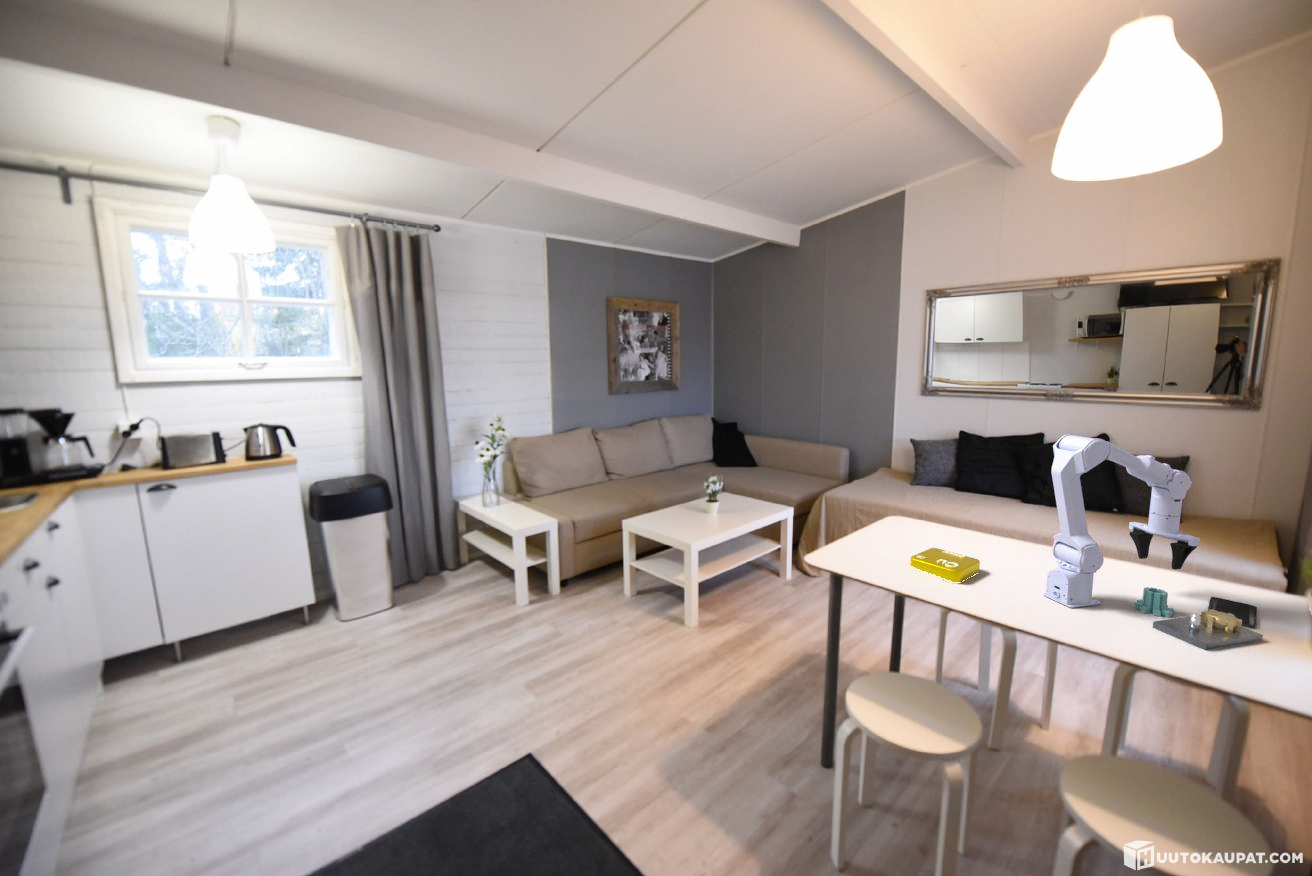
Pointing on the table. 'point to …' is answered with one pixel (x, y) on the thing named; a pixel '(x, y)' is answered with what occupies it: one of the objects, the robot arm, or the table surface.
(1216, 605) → the phone
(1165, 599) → the gear
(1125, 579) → the table surface
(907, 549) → the table surface
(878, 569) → the table surface
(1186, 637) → the carrier
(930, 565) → the element tile
